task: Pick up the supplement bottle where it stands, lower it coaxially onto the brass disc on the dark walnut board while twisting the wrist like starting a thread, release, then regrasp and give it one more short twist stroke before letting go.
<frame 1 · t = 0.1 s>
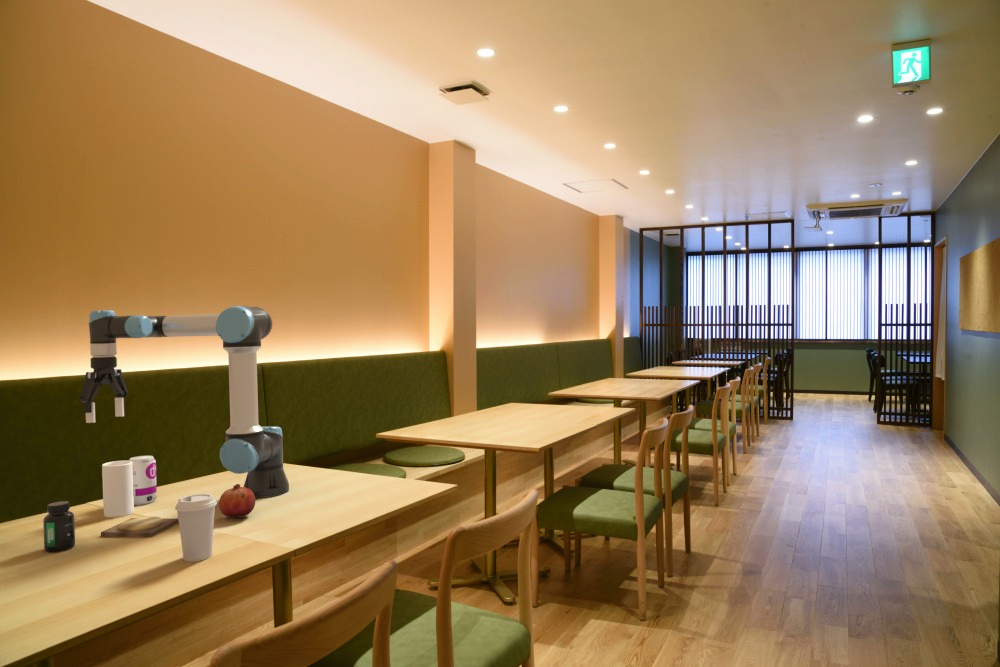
hand: (105, 419, 216), 28 cm above the table, fingers open, 13 cm apart
supplement bottle: (60, 549, 171), on the table
coffee cup: (197, 557, 162), on the table
fruit: (237, 518, 195), on the table
walnut board: (141, 529, 186), on the table
supplement can: (143, 502, 215), on the table
cup: (119, 514, 202), on the table
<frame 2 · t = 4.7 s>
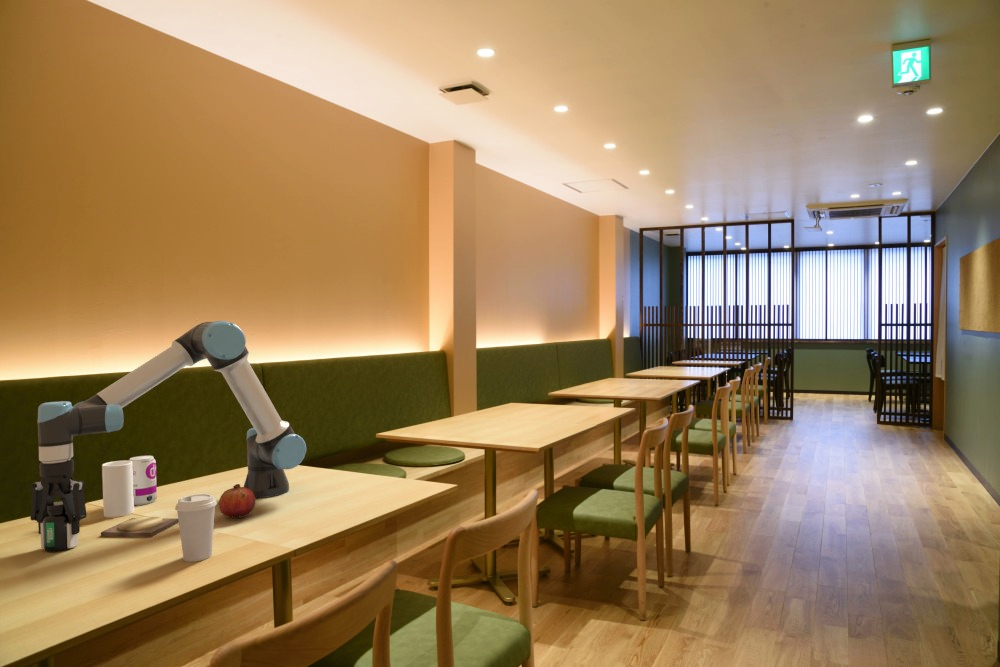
hand: (59, 546, 171), 1 cm above the table, fingers closed on supplement bottle, 7 cm apart
supplement bottle: (59, 549, 171), on the table, touching gripper
everything else where it was.
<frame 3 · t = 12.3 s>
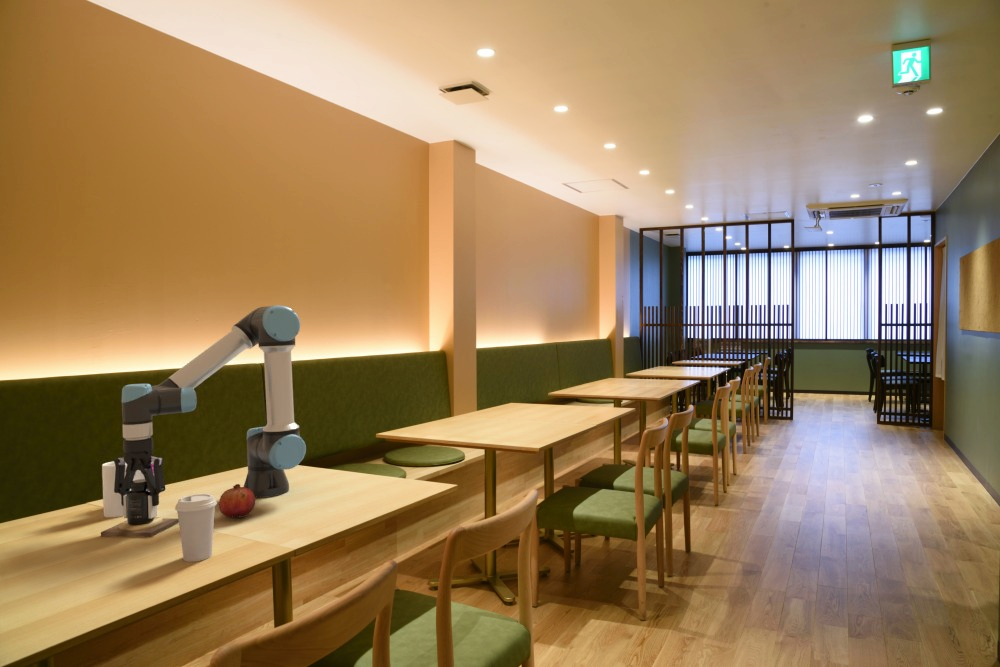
hand: (140, 516, 186), 4 cm above the table, fingers closed on supplement bottle, 7 cm apart
supplement bottle: (141, 522, 186), point 2 cm above the table, touching gripper, walnut board
everything else where it was.
when the fingers open (4 cm above the table, at t = 13.3 s): supplement bottle stays where it is, resting on walnut board.
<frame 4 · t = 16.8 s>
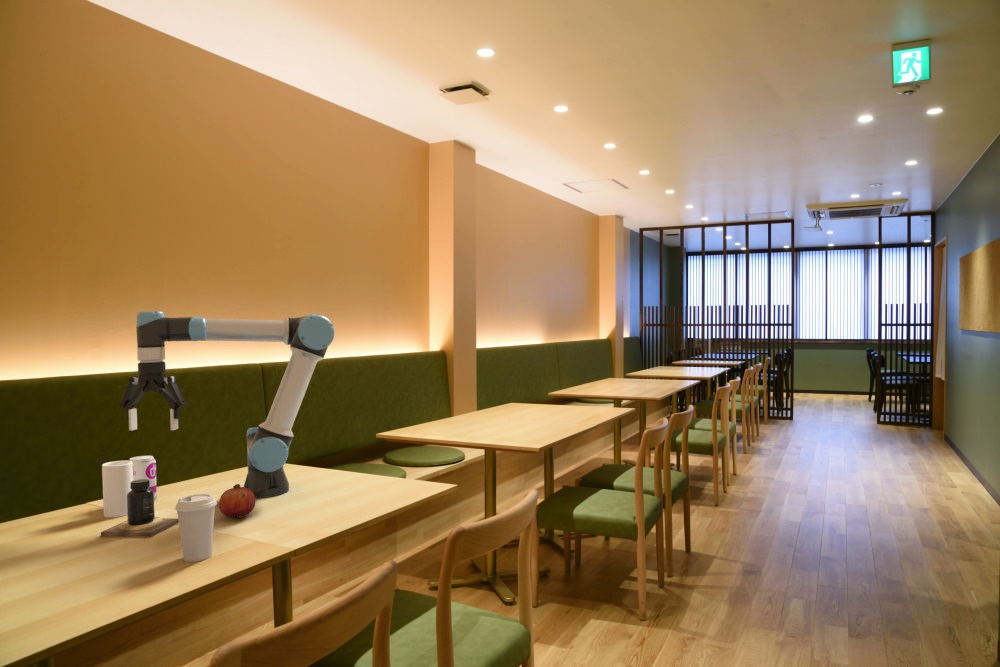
hand: (153, 429, 199), 27 cm above the table, fingers open, 13 cm apart
supplement bottle: (141, 522, 186), point 2 cm above the table, touching walnut board
everything else where it was.
at the end: supplement bottle touching walnut board; supplement bottle tilted 0°; supplement bottle moved 20.2 cm from its start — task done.
